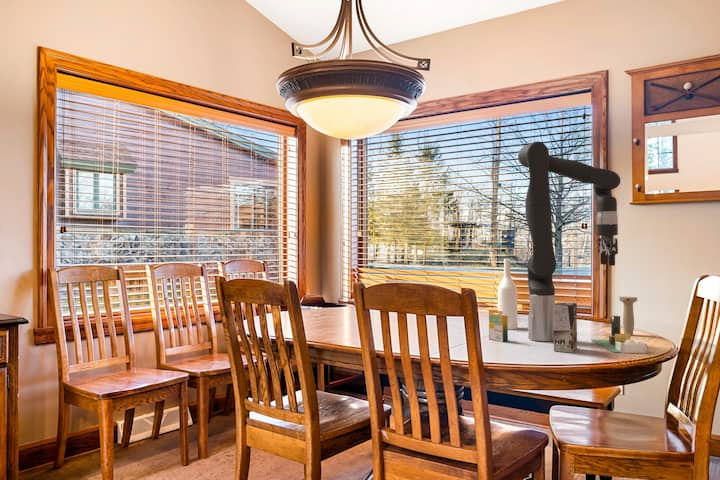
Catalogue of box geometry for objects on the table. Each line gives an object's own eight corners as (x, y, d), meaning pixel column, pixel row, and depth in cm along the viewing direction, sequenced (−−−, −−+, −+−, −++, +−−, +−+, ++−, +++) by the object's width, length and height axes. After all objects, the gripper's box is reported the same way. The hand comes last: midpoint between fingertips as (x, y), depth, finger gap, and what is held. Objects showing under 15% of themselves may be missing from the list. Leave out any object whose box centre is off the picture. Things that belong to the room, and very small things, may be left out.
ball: (621, 341, 188) (623, 351, 186) (625, 337, 185) (627, 347, 183) (632, 341, 187) (634, 351, 185) (636, 337, 184) (638, 347, 182)
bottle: (519, 329, 230) (519, 259, 230) (500, 329, 230) (500, 259, 230) (514, 326, 238) (513, 258, 238) (496, 326, 238) (495, 258, 238)
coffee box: (572, 353, 183) (572, 305, 183) (553, 351, 186) (552, 304, 186) (577, 348, 190) (577, 302, 190) (558, 346, 194) (558, 301, 194)
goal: (620, 352, 182) (620, 344, 182) (615, 350, 186) (615, 341, 186) (647, 353, 181) (647, 344, 181) (641, 350, 186) (641, 341, 186)
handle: (637, 336, 211) (637, 298, 211) (619, 335, 214) (619, 297, 214) (637, 334, 215) (637, 296, 215) (619, 333, 218) (619, 296, 218)
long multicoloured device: (607, 341, 199) (607, 315, 199) (621, 341, 198) (621, 315, 198) (615, 345, 191) (615, 318, 191) (630, 345, 190) (630, 318, 190)
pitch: (614, 352, 182) (614, 351, 182) (591, 340, 204) (591, 339, 204) (647, 353, 181) (647, 351, 181) (620, 340, 203) (620, 339, 203)
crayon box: (508, 341, 204) (508, 310, 204) (502, 342, 203) (502, 311, 203) (494, 338, 211) (494, 308, 211) (488, 339, 209) (488, 309, 209)
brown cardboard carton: (611, 344, 194) (611, 337, 194) (609, 343, 196) (608, 336, 196) (627, 344, 194) (627, 337, 194) (624, 343, 196) (624, 336, 196)
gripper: (590, 224, 218) (591, 264, 218) (604, 223, 204) (604, 266, 204) (610, 223, 218) (610, 264, 218) (624, 222, 203) (625, 265, 203)
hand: (607, 265), depth 211 cm, fingers open, 8 cm apart
